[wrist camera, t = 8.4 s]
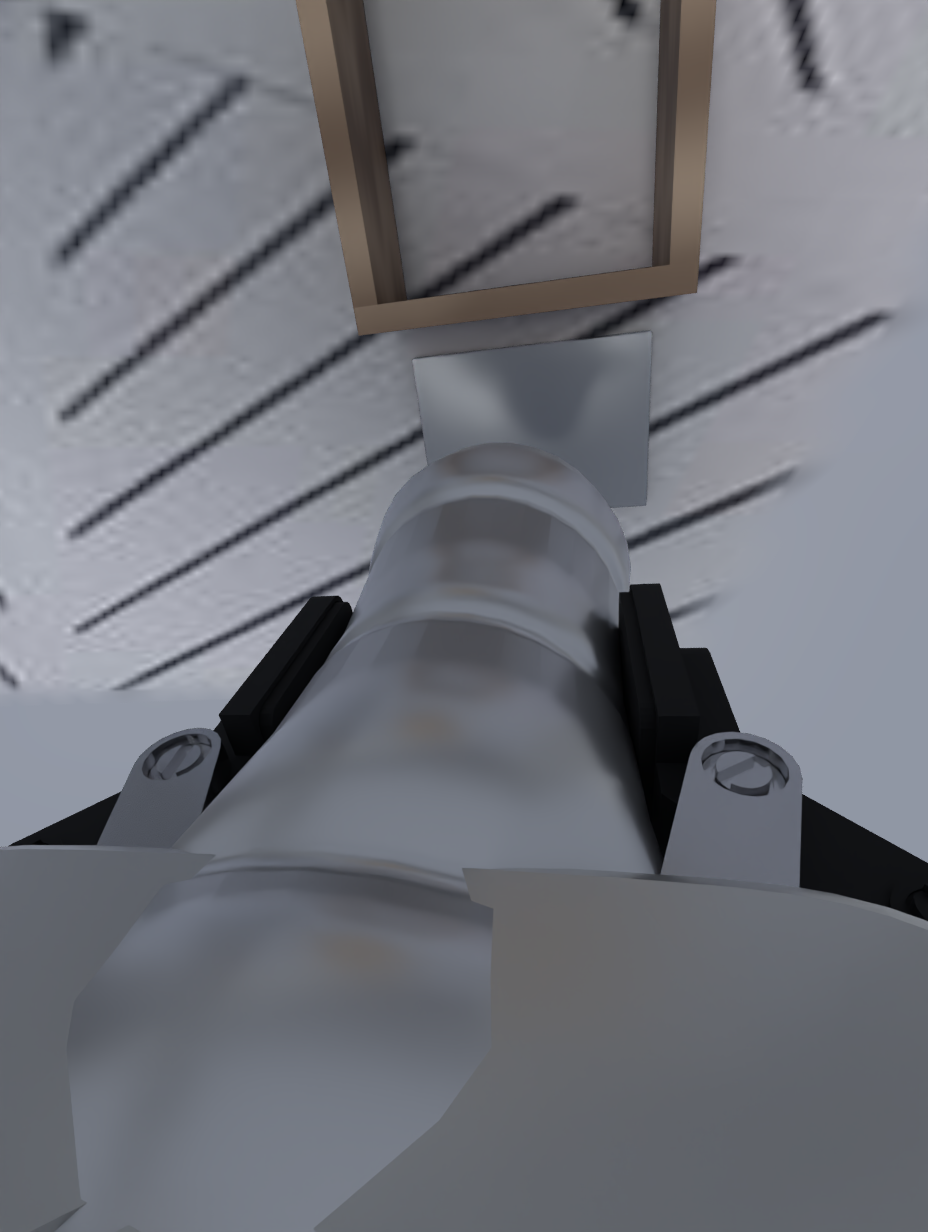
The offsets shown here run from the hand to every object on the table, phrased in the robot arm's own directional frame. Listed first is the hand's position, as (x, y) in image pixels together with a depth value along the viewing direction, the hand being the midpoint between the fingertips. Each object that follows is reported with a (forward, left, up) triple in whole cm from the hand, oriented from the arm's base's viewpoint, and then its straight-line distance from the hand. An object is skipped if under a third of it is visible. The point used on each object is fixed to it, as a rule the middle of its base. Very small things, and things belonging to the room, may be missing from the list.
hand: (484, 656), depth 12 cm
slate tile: (0, 0, -20) cm, 20 cm away
